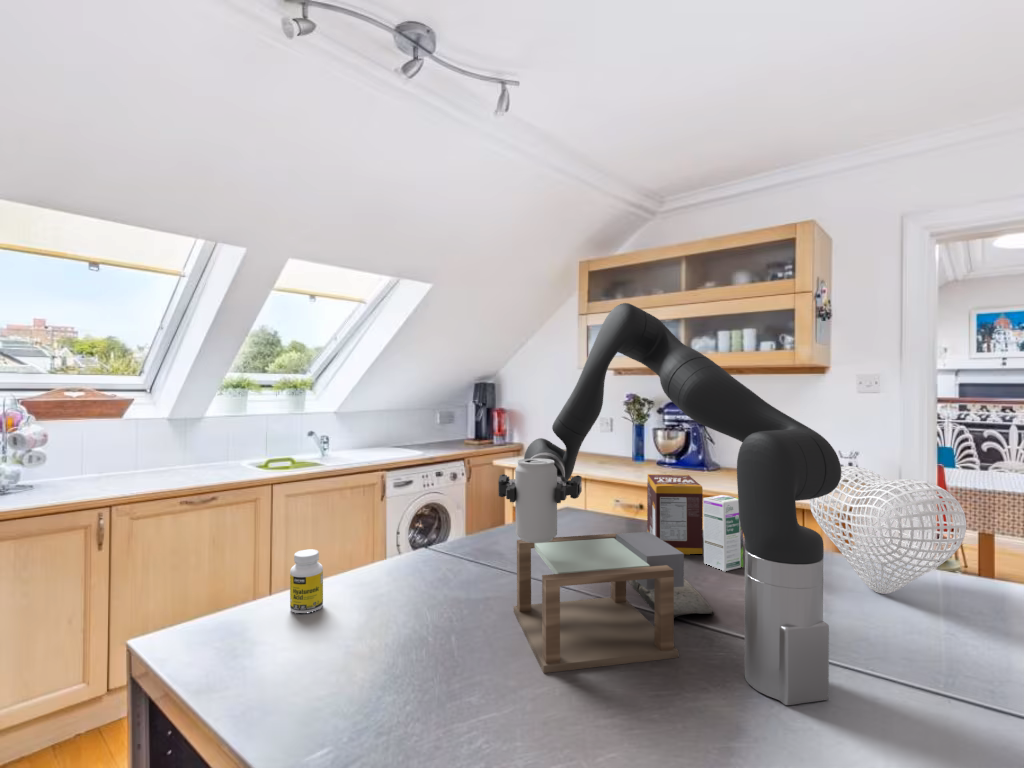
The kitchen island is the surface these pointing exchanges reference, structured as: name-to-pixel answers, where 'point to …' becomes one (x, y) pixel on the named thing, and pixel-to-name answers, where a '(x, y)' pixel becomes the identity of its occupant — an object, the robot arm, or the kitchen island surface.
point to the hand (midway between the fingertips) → (535, 496)
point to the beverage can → (536, 500)
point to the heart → (882, 484)
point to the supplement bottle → (306, 582)
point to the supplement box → (676, 511)
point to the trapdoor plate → (613, 555)
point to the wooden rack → (594, 616)
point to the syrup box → (722, 533)
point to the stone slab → (678, 599)
